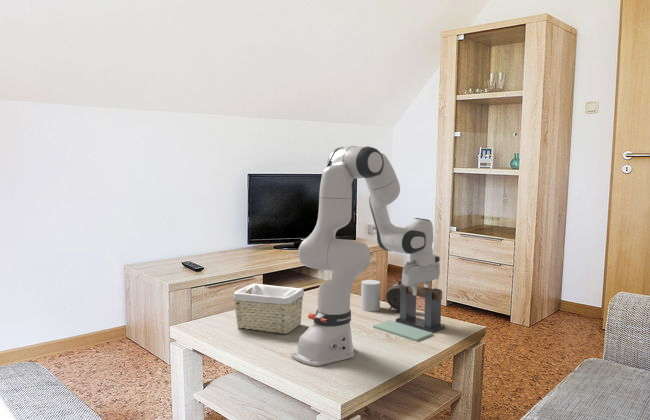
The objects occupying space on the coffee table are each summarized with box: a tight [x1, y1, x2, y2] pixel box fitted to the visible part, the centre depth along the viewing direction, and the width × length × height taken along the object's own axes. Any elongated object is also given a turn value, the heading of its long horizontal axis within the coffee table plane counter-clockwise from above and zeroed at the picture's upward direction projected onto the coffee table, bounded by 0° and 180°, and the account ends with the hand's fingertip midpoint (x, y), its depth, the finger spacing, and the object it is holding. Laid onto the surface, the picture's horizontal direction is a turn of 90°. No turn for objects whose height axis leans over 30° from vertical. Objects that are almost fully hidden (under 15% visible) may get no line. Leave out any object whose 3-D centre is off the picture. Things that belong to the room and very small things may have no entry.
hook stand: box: [395, 285, 446, 334], centre depth 211 cm, size 8×18×15 cm, turn 43°
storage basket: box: [233, 282, 305, 335], centre depth 209 cm, size 24×16×15 cm
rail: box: [400, 284, 443, 301], centre depth 210 cm, size 3×18×3 cm, turn 43°
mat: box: [372, 319, 434, 342], centre depth 204 cm, size 10×21×1 cm, turn 43°
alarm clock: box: [385, 274, 402, 314], centre depth 229 cm, size 11×5×16 cm, turn 63°
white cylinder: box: [360, 279, 381, 313], centre depth 233 cm, size 8×8×12 cm
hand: (420, 293), depth 210 cm, fingers open, 5 cm apart
